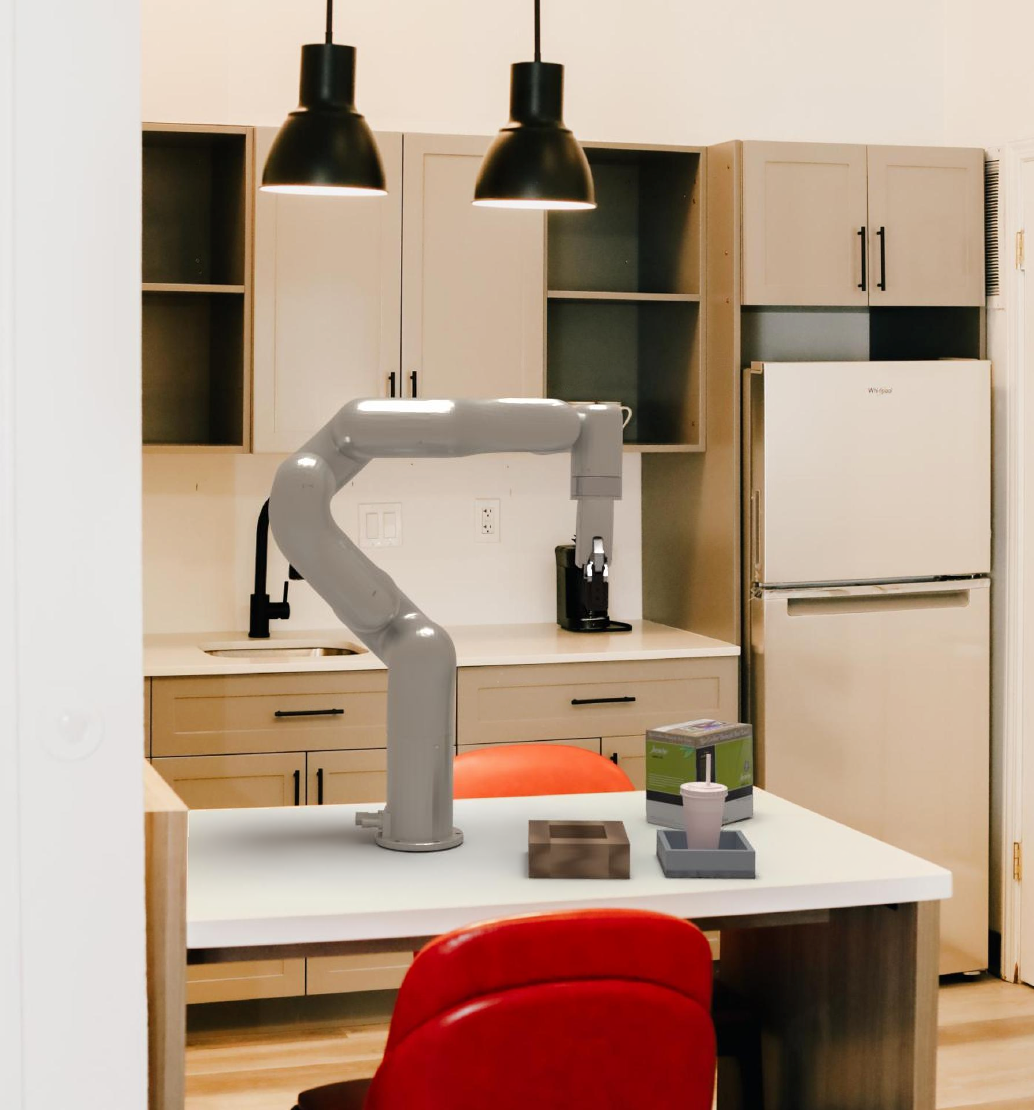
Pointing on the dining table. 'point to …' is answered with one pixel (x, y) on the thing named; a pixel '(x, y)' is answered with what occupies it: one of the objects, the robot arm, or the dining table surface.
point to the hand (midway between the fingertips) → (594, 607)
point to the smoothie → (703, 811)
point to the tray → (705, 856)
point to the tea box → (698, 767)
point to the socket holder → (578, 849)
